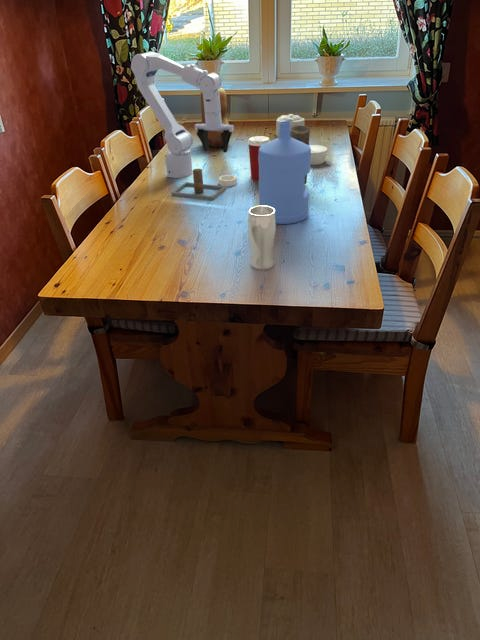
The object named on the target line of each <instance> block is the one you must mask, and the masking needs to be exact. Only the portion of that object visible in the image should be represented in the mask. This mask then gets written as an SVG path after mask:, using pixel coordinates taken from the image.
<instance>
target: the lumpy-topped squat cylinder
mask: <svg viewBox="0 0 480 640" xmlns="http://www.w3.org/2000/svg"><path fill="white" fill-rule="evenodd" d="M275 121H276V124H275V125H276V129H275V130H276V133H275V134H276V138H278V137H279V136H280V122H283V121H288V122H291V124H290V128H291V127H293V126H300V125H301V126H306V125H305V118H304V117H301V116H300V115H298V114H296V115H295V114H293V113H289V114H287V115H286V114H284V115H283V114H282V115H280V116H279V117H277V119H276V120H275Z"/></svg>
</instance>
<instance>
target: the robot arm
mask: <svg viewBox="0 0 480 640" xmlns="http://www.w3.org/2000/svg"><path fill="white" fill-rule="evenodd" d="M130 70H131V71H132V73H133V75H134V79H135V83H136V86H137V88H138V90H139V92H140V94H141V95H142V97H143V98H144V100H145V101H146V103H147V105H148V106H149V108H150V109H151V112H152V113H153V115H154V116H155V118H156V119H157V121H158V123H159V124H160V126H161V127H162V128H163V131H164V137H163V139H164V141H165V143H166V146H167V150H168V152H167V153H166V155H165V166H166V167H165V168H166V174H167V175H166V178H171V179H181V178H184V177H189V176H193V163H192V151H191V147H192V145H194V139H193V136H192V134H191V133H190V132H189V131H187V129H186V128H185V127H184V126H183V125H181V124H179V123H178V121H177V120H176V119H175V116H174V115H173V114H172V112H171V110H170V108H169V107H168V106H167V103H166V102H165V101H164V99H163V97H162V96H161V94H160V93H159V91H158V89H157V88H156V86H155V84H154V83H155V82H154V81H155V76H156V75H157V73H158V70H162V71H166V72H168V73H170V74H174V75H176V76H179V77H181V80H182V81H183V83H186V84H188V85H190V86H193V87H194V88H197V89H199V90H200V93H201V92H202V93H203V100H204V111H205V122H206V124H201V123H196V124H194V131H196V136H197V137H198V139H199V140H200V142H201V145H202V147H203V150H204V152H206V153H207V152H208V151H209V149H210V148H209V146H210V145H209V144H208V131H223V132H222V133H221V138H222V142H223V145H222V150H223V151H222V152H223V153H224V154H225V153H227V152H228V150H229V149H228V148H229V143H230V139H231V137H232V134H233V132H234V131H235V127H234V124H229V125H228V124H222V120H221V107H220V94H219V90H218V89H219V88H220V87H221V86H222V79H221V77H220V75H219V74H217V73H216V72H214V71H213V72H208V70H206V69H204V70H203V69H200V68H199V67H196V64H193V63H191V64H186V65H185V66H184V65H182V64H180V63H178V62H176V61H174V60H172V59H170V58H168V57H166V56H164V55H162V54H161V53H160V52H159V53H158V52H155V51H153V50H150V51H147V52H143V53H137V54H134V55H133V57H132V59H131V64H130ZM221 88H222V87H221Z"/></svg>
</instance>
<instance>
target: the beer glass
mask: <svg viewBox="0 0 480 640" xmlns="http://www.w3.org/2000/svg"><path fill="white" fill-rule="evenodd" d="M247 218H248V219H247V227H248V229H247V230H248V232H247V233H248V236H249V241H250V242H249V243H250V246H251V260H250V266H251V267H252V268H253V269H254V270H260V271H263V270H264V271H265V270H270V269H271V268H272V267H274V265H275V262H274V261H275V260H274V257H273V248H274V243H275V239H276V238H275V237H276V233H277V224H276V217H275V209H274V208H272V207H270V206H259V205H255V206H253V207H250V208H249V209H248V216H247Z"/></svg>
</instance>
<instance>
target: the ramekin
mask: <svg viewBox="0 0 480 640" xmlns="http://www.w3.org/2000/svg"><path fill="white" fill-rule="evenodd" d="M309 146H310V148H311V163H310V166H317V165H322V164H324V163H325V161H326V158H327V155H328V153H327V152H328V151H329V150H328V147H327V146H324V145H320V144H309Z"/></svg>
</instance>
